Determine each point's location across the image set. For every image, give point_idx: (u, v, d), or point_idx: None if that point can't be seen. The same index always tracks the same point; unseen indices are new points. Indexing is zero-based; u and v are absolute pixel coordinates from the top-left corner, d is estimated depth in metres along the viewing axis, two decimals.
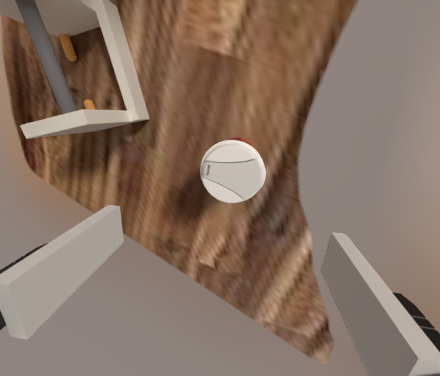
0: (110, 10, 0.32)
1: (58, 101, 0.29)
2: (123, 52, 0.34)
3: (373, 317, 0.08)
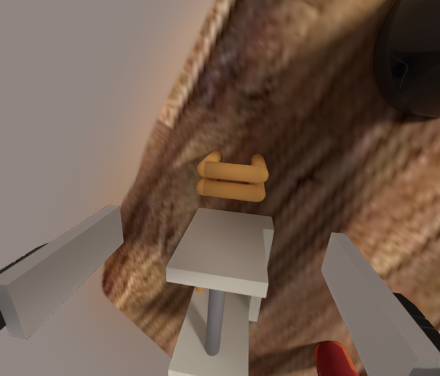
0: None
1: (210, 344, 0.27)
2: None
3: (373, 317, 0.08)
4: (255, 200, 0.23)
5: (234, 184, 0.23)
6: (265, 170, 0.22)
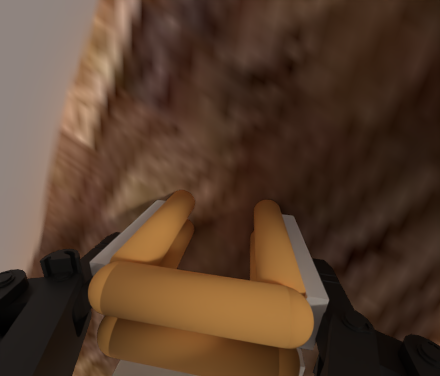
0: None
1: None
2: None
3: None
4: None
5: (205, 334, 0.07)
6: (305, 313, 0.06)
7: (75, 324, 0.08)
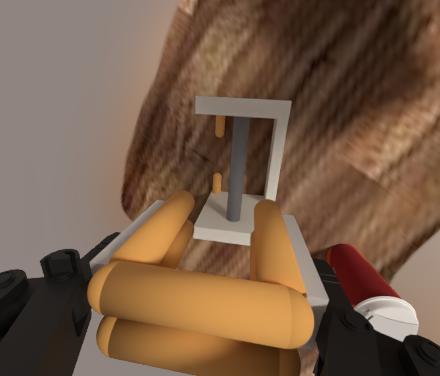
0: None
1: (232, 208, 0.29)
2: None
3: None
4: None
5: (205, 334, 0.07)
6: (305, 313, 0.06)
7: (75, 324, 0.08)
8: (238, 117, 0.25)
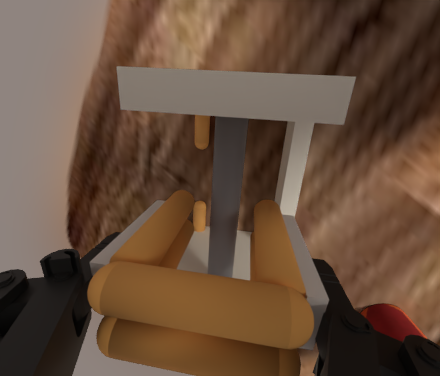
0: None
1: None
2: None
3: None
4: None
5: (205, 335, 0.07)
6: (305, 313, 0.06)
7: (75, 324, 0.08)
8: (223, 118, 0.12)
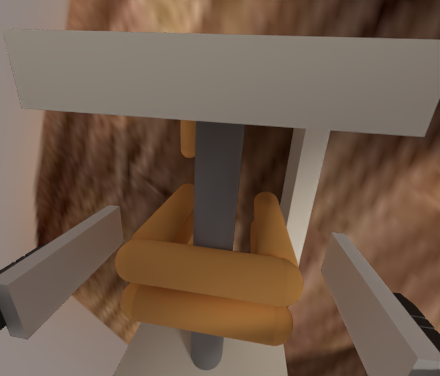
0: None
1: (201, 344, 0.12)
2: None
3: (373, 317, 0.08)
4: (267, 344, 0.09)
5: (212, 299, 0.09)
6: (296, 276, 0.08)
7: None
8: (206, 122, 0.08)
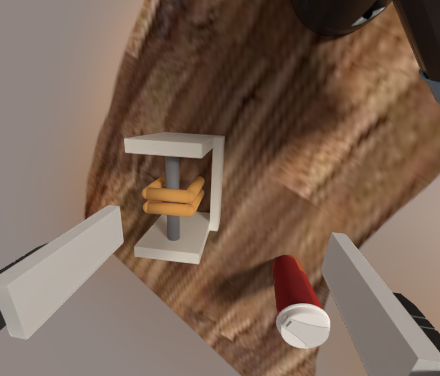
0: (223, 145, 0.36)
1: (170, 228, 0.33)
2: (221, 176, 0.38)
3: (373, 317, 0.08)
4: (186, 216, 0.30)
5: (170, 204, 0.30)
6: (191, 193, 0.29)
7: None
8: None
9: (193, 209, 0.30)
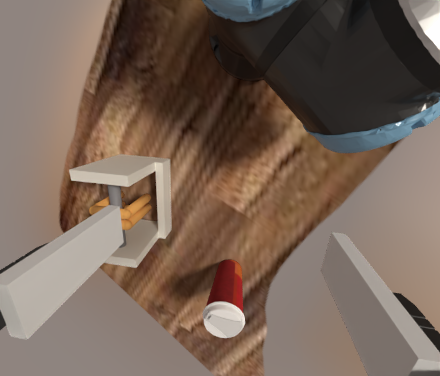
0: (165, 168, 0.43)
1: None
2: (166, 193, 0.45)
3: (373, 317, 0.08)
4: (124, 229, 0.37)
5: None
6: (127, 212, 0.36)
7: None
8: None
9: (129, 224, 0.37)
